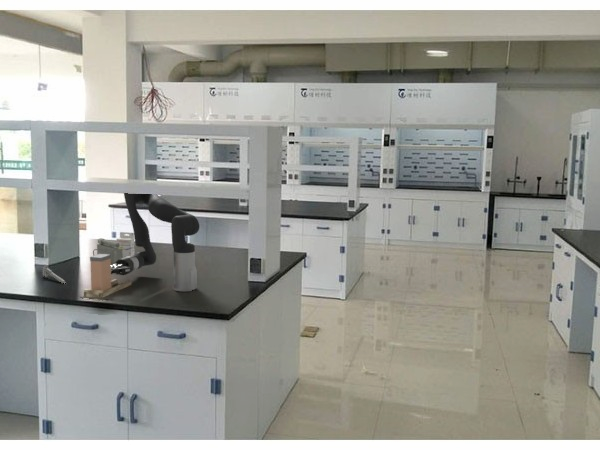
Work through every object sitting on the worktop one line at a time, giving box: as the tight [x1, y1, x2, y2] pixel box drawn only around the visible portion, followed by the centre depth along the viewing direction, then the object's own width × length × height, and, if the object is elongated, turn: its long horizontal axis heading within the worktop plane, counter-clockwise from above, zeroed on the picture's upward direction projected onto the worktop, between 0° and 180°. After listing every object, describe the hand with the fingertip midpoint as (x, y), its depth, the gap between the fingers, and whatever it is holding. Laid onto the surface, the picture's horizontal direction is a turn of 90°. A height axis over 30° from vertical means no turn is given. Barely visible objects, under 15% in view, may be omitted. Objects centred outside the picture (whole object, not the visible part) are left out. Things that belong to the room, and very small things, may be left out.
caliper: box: [42, 264, 67, 285], centre depth 279 cm, size 20×1×6 cm, turn 49°
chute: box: [79, 278, 133, 301], centre depth 259 cm, size 12×24×4 cm, turn 166°
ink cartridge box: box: [116, 231, 135, 258], centre depth 328 cm, size 9×5×15 cm, turn 84°
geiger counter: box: [92, 237, 123, 265], centre depth 310 cm, size 14×6×25 cm
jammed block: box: [89, 254, 112, 291], centre depth 253 cm, size 5×7×16 cm
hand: (105, 273), depth 256 cm, fingers closed
